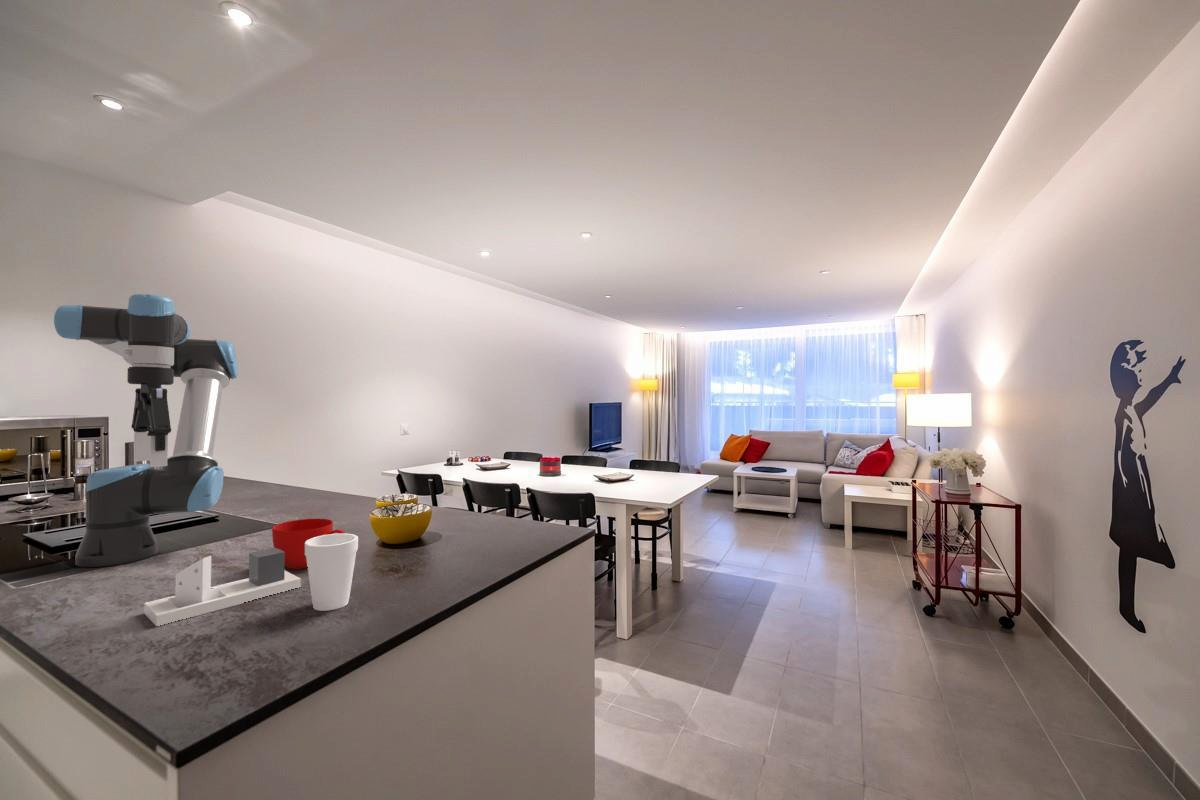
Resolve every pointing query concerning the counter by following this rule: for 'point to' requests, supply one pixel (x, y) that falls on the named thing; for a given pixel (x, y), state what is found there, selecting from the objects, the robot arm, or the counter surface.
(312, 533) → the ceramic cup
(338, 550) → the foam cup
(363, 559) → the counter surface
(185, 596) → the white angled block
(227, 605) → the white slotted base plate
